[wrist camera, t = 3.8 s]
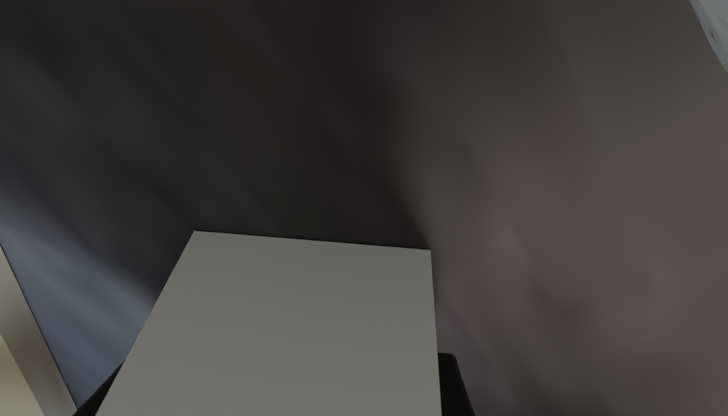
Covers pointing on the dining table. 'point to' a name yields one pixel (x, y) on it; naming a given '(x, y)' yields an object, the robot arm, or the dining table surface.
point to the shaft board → (26, 358)
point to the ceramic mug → (714, 25)
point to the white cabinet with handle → (285, 333)
